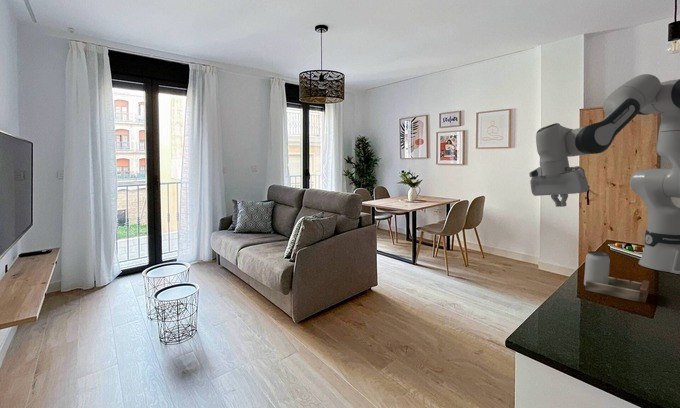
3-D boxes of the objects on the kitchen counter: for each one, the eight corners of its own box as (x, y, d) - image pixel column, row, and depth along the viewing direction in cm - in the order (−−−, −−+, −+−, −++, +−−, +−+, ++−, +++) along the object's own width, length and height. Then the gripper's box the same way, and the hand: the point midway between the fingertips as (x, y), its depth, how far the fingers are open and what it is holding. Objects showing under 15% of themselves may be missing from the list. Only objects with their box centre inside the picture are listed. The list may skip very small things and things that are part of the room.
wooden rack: (585, 290, 111) (585, 278, 111) (591, 281, 119) (592, 270, 118) (645, 303, 101) (646, 290, 100) (648, 292, 108) (649, 281, 107)
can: (611, 291, 110) (614, 256, 108) (589, 290, 111) (592, 255, 110) (600, 284, 116) (603, 251, 115) (580, 283, 117) (582, 250, 116)
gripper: (589, 163, 112) (596, 204, 112) (537, 171, 131) (543, 205, 132) (576, 166, 110) (583, 207, 110) (525, 173, 129) (531, 208, 130)
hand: (561, 206), depth 121 cm, fingers closed
